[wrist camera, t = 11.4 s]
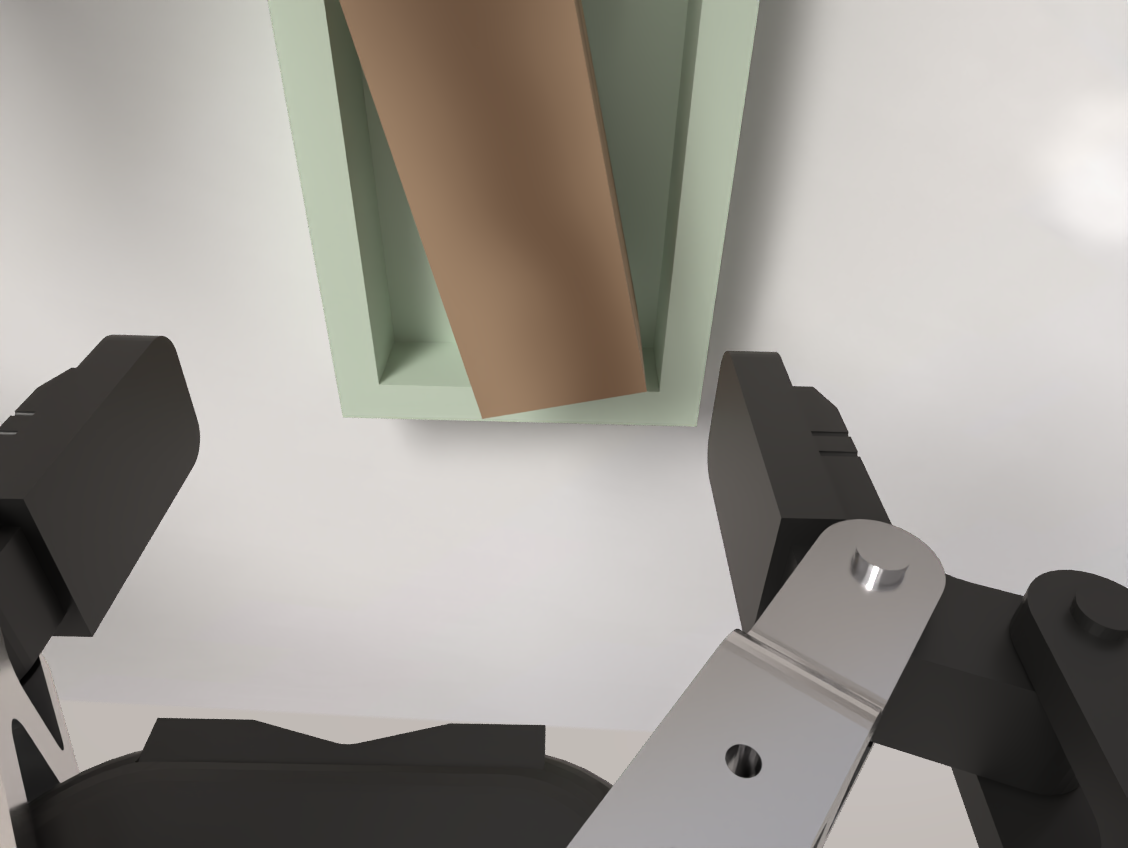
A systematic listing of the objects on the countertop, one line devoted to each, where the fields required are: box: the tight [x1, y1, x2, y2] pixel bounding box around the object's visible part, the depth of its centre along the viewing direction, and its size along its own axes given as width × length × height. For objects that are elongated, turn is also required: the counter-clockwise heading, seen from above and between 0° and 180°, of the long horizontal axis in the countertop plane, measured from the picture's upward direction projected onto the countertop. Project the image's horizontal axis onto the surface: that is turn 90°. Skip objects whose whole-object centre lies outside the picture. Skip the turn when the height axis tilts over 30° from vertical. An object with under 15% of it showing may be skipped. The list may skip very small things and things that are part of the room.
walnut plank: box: [339, 0, 647, 419], centre depth 21 cm, size 5×15×5 cm, turn 12°
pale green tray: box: [268, 0, 760, 427], centre depth 24 cm, size 13×22×4 cm, turn 179°
